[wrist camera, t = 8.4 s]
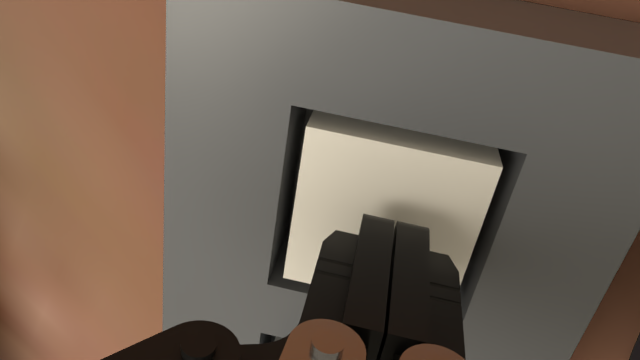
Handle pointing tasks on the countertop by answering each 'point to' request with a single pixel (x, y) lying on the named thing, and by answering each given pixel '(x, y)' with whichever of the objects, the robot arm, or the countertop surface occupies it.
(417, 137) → the white key
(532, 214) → the keypad
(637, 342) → the button control panel
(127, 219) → the countertop surface
